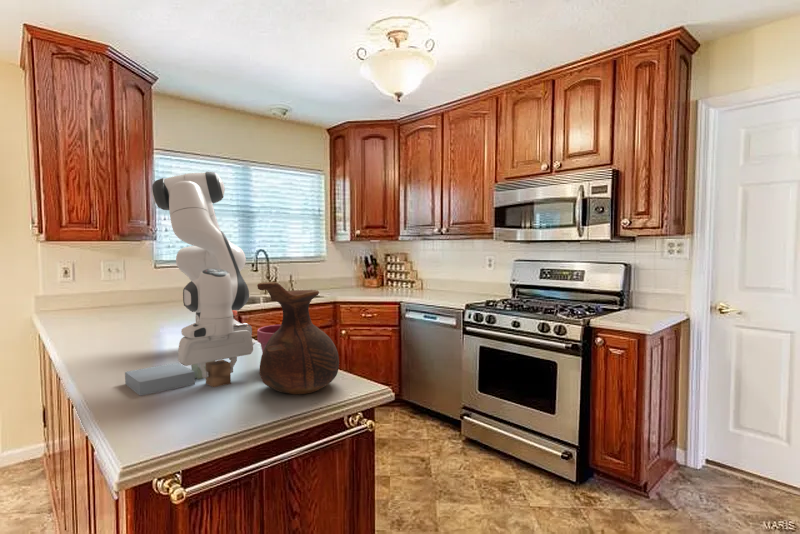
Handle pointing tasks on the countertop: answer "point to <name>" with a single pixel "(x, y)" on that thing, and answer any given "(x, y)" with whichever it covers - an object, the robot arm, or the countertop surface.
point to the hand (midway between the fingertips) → (218, 375)
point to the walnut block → (218, 373)
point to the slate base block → (159, 378)
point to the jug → (297, 346)
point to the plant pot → (266, 334)
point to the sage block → (197, 371)
